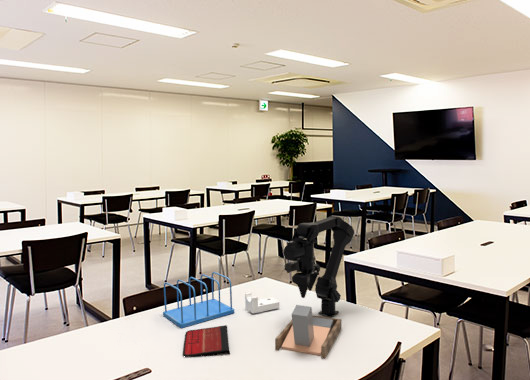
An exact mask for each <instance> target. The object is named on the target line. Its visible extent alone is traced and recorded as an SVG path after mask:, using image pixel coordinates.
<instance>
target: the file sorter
mask: <svg viewBox="0 0 530 380" xmlns="http://www.w3.org/2000/svg"><path fill="white" fill-rule="evenodd" d="M214 274H215V275H217V276H221V277H223V278H225V279H227V281H228V283H229V297H230V298H229V300H230V302H229V303H230V305H227V304H225V303H224V302H221V286H220V282H219V281H218V280H217V279H215V278H214ZM203 277H205V278H207V279H210V280H211V295H212V296H211V298H210V299H209V293H208V290H209V289H208V287H207V284H206V283H205V282H204V281H202V280H203ZM191 280H194V281H197V282H198V283H200V302H197V301H196V290H195V287H194V286H193V285H191ZM214 281H215V282H216V284H217V288H218V289H217V290H218V299H215V297H214ZM179 282H180V283H183V284H184V285H186V286H188V297H189V298H188V299H189V300H188V301H189V304H188V305H185V306H184V305H183V295H182V292H181V290H180V289H179ZM166 285H168V286H170V287H171V288H173V289H175V290H176V302H177V307H176V308H172V309H168V310H167V296H166V295H167V294H166ZM203 285H204V288H205V296H206V300H203ZM191 289H192V290H193V303H192V299H191V298H192V297H191V296H192V294H191ZM163 296H164V311H162V316H163V315H164V316H163V317H165V318H166V317H167V318H166V319H168V320H169V321H170V320H171V321H170V322H172V323H173V324H175V325H176V326H177V327H179V328H180V329H183V328H187V327H190V326H194V325H197V324H200V323H204V322H207V321H210V320H213V319H218V318H220V317H224V316H227V315H230V314H233V313H234V314H235V309H234V308H233V297H232V296H233V293H232V281H231V279H230V278H229V277H228V276H225V275H223V274H221V273H219V272H216V271H213V272H212V273H211V276H209V275H206V274H201V275H200V279H198V278H196V277H193V276H190V277H188V282H186V281H184V280H181V279H177V281H176V285H173V284H172V283H169V282H164V283H163ZM179 297H180V298H179ZM179 299H180V300H179Z"/></svg>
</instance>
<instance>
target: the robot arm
mask: <svg viewBox="0 0 530 380" xmlns="http://www.w3.org/2000/svg"><path fill="white" fill-rule="evenodd" d="M327 230H331V231H332V239H333V242H334V243H333V245H332V247H331V248H332V249H331V252H330V255H329V258H328V261H327V263H326V268H325V271H324V274H323V275H322V276H319V273H320V271H321V266H320V264H319V263H314V262H315V260H316V256H314V254H315V253H314V252H315V249H314V246H315V244H317V243H318V241H317V240H316V238H317V237H318V236H319V234H320V233H322V232H324V231H325V232H326V231H327ZM354 235H355V229H354V228H353V226H352V225H350V223H348V222H347V221H345V220H343V219H342V217H340V216H338V215H337V216H336V215H330V216H328V217H326V218H323V219H320V220H317V221H314V222H302V223H301V222H300V223H299V224H298V225H297V227H296V229H295V230H294V233H293V236H292V237H291V240H290V241H287V243H286V245H285V246H284V249H283V251H282V253H283V256H284V258H285V259H286V260H288V261H289V262H286V263H285V265H284V271H286V273H287V274H289V273H291V272H296V273H294V274H293V275H292V276H291V282H292V283H293V284H296V285H297V287H298V290H299V293H300V297H301V298H303V299H305V298H306V296H307V291H312V290H313V288H314V286H315V288H314V291H315V293H316V295H315V296H316V297H317V299H320V300H321V303H320V304H321V306H320V307H321V309H320V311H318V315H322V316H324V317H328V318H334V316H335V315H337V314H339V313H340V312H339V311H338V310H336V303H338V302H339V301H340V300H341V296H342V295H341V293H339V291H338V290H337V289H338V284H337V275H338V271H339V268H340V265H341V262H342V259H343V256H344V252H345V250H346V247H347V245H349V244H350V243H351V242H352V239H353V237H354Z"/></svg>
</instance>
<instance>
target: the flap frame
mask: <svg viewBox="0 0 530 380" xmlns="http://www.w3.org/2000/svg"><path fill="white" fill-rule="evenodd" d="M312 317H318V318H325V319H332V320H333V325H334V327H333V328H332V330H331V332H330V333H329V335H328V336H327V338H326V340H325V341H324V343H323V344H322V346H321V356H320V357H321V359H326V357H327V355H328V353H329V352H330V350H331V349H332V347H333V345H334V343H335V341H336V340H337V338H338V336H339V334H340V333H341V331H342V319H341V318H334V317H329V316H319V315H314V314H312ZM292 325H293V323H292V319H291V320H290V321H289V322H288V323H287V325H286V326H285V327H284V328H283V329H282V331H281V332H280V333H279V334H278V335H277V336H276V337H275V340H274V342H275V343H274V345H275V346H274V349H275V351H280V350H281V349H282V344H283V343H284V341H285V339H286V337H287V335H288V333H289V331H290V329H291V327H292Z"/></svg>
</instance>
